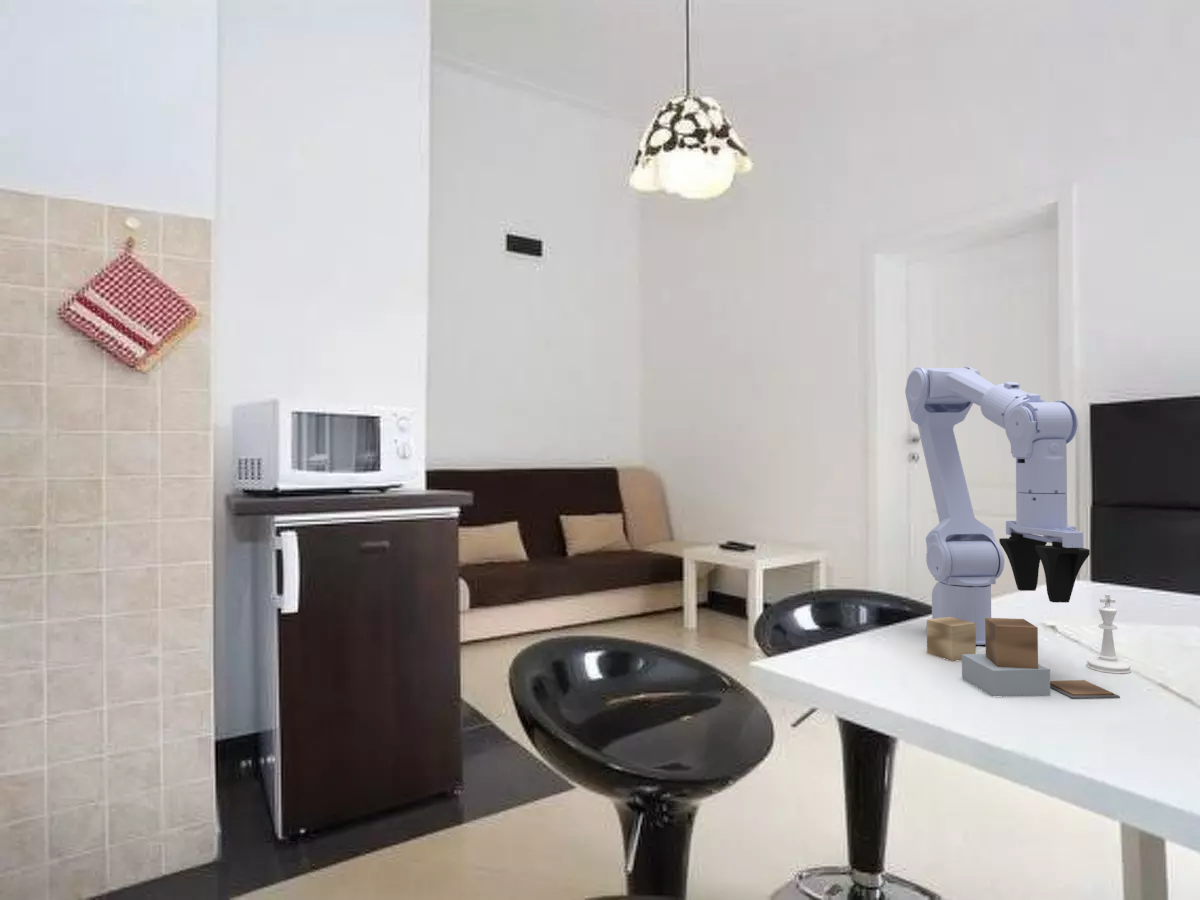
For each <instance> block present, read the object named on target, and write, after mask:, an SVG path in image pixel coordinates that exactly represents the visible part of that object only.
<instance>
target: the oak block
mask: <svg viewBox="0 0 1200 900" xmlns="http://www.w3.org/2000/svg"><path fill="white" fill-rule="evenodd" d="M926 627H927V630H926V654H928V655H931V656H934V655H935V657H937V656H939V657H938V658H940V657H941V658H940V659H943V658H945V659H944V660H946V659H948V660H947V661H949V660H951V661H950V662H957V661H956V660H959V661H962V654H977V648H976V647H977V645H976V623H972V622H968V621H964V620H961V619H957V618H953V617H943V618H935V619H932V618H928V619H926Z"/></svg>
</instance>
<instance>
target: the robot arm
mask: <svg viewBox="0 0 1200 900" xmlns="http://www.w3.org/2000/svg"><path fill="white" fill-rule="evenodd" d="M1020 386H1021V385H1020V383H1018V382H1016V381H1005V382H1004V383H999V384H994V383H992V382H991V381H989V380H988V379H986V378H984V377H983V376H982V375H981V373H980V370H979V369H974V368H973V367H970V366H964V367H922V366H916V367H914V368H913V369H912V370H911V371H910V373H909V375H908V376H907V379H906V386H905V391H904V392H905V393H904V394H905V398H906V403H907V406H908V408H907V409H908V411H909V415H910V419H911V421H912V422H913V423H915V425H917V428H918V434H919V438H920V442H921V446H922V450H923V455H924V458H925V464H926V469H927V473H928V476H929V477H928V478H929V481H930V487H931V490H932V495H933V499H934V500H933V501H934V504H935V508H936V512H937V516H938V517H937V518H938V521H939V522H938V524H937V525H936V526H935V527H934V528H932V529H931V530H930V531H929V532H928V534H927V535H926V537H925V543H926V544H925V545H926V555H925V557H926V559H925V560H926V565H927V569H928V572H929V573H930V574H931V576H932V577H933V578H934V580H935V581H936V582H937V583H936V584H935V585H934V587H933V588H932V591H931V619H935V618H943V617H953V618H957V619H961V620H964V621H968V622H972V623H976V646H978V645H979V646H981V645H982V646H983V645H984V646H986V641H985V618H992V585H996V583H997V582H996V580H997V579H998V578H999V577H1000V576H1001V575H1002V573H1003V571H1004V569H1005V556H1004V555H1005V554H1006V557H1007V559H1008V561H1009V564H1010V567H1011V570H1012V573H1013V578H1014V581H1015V585H1016V588H1017V591H1021V592H1022V591H1023V592H1029V591H1032V592H1033V591H1034V592H1035V591H1036V590H1037V587H1038V584H1039V583H1038V582H1039V581H1038V580H1039V572H1040V568H1039V567H1040V563H1041V565H1042V567H1043V571H1044V577H1045V585H1046V593H1047V596H1048V597H1047V598H1048V601H1049V602H1051V603H1070V600H1071V597H1072V594H1073V589H1074V586H1075V582H1076V580H1077V577H1078V574H1079V572H1080V571H1081V568H1082V566H1083V565H1084V564H1085V561H1086V560H1087V559H1088V557H1089V556H1090V553H1091V551H1090V549H1089V548H1084V532H1083V531H1080V530H1077V526H1075V525H1069V524H1068V472H1067V471H1068V468H1067V467H1068V463H1067V461H1068V460H1067V454H1068V453H1067V448H1068V447H1067V444H1068V443H1071V441H1072V440H1073V439H1074V437H1075V436H1076V434H1077V430H1078V424H1079V423H1078V416H1077V413H1076V410H1075V408H1073V406H1072V405H1070V404H1069V403H1068V402H1067V401H1065V400H1054V401H1050V402H1049V401H1046V400H1044V399H1042V398H1041V395H1040V394H1038V393H1036V392H1032V393H1030V392H1027V391H1025V390H1023V389H1021V388H1020ZM973 404H975V405H976V406H979V407H980V411H981V414H982V415H983V417H984V418H985V419H987V420H989V421H990V422H991V423H993V424H995V425H997V426H999V427H1000V428H1002V429H1004V430H1005V435H1006V437H1007V440H1008V441H1009V444H1010V454H1012V455H1011V456H1012V458H1015V496H1016V497H1015V504H1016V505H1015V507H1016V510H1015V512H1016V517H1015V518H1016V519H1015V520H1006V521H1005V534H1006V535H1007V536H1009V538H1007V537H1006V538H1005V537H1004V538H999V542H997V540H996V536H995V533H994V530H993V529H992V528H991V527H989V526H987V524H985V523H984V522H981V521H980V520H978V519H977V518H976V517H975V514H974V513H975V512H974V509H973V505H972V501H971V498H970V493H969V488H968V485H967V481H966V476H965V473H964V468H963V464H962V460H961V456H960V452H959V449H958V445H957V440H956V437H955V436H956V435H955V432H954V427H955V426H956V425H958V424H960V423H962V422H963V421H964V420H965V419H966V417H967V415H968V414H969V412H970V410H971V408H972V407H973ZM998 543H999V544H998ZM1047 543H1049V544H1051V545H1047ZM1001 547H1002V548H1001ZM1002 549H1003V550H1002ZM1003 551H1004V552H1005V554H1004V552H1003ZM925 629H926V631H927V626H926V628H925Z"/></svg>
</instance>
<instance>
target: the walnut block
mask: <svg viewBox="0 0 1200 900" xmlns="http://www.w3.org/2000/svg"><path fill="white" fill-rule="evenodd" d="M1038 631H1039V630H1038V626H1037V625H1035V624H1032V623H1031V622H1029V621H1027V620H1026V619H1024V618H1008V617H1007V618H1006V617H1005V618H1002V617H1001V618H1000V617H991V618H985V641H986V645H985V654H986V657H987V658H988V659H989V660H990V661H991V662H993V663H994V664H995V665H996V666H997V667H1009V668H1032V669H1038V664H1039V635H1038V634H1039V632H1038Z"/></svg>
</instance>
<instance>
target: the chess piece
mask: <svg viewBox="0 0 1200 900" xmlns="http://www.w3.org/2000/svg"><path fill="white" fill-rule="evenodd" d="M1099 602H1100V603H1101V604H1102V603H1103V604H1104V606H1100V607H1099V608H1098V611H1099V614H1100V617H1101V620H1102V621H1103V622H1102V623H1099V624H1098V628H1100V629H1103V635H1102V642H1101V649H1100V653H1098V654H1097V656H1096V657H1089V658H1088V659H1087V660H1086V665H1085V666H1086V667H1087V668H1089V669H1091V670H1094V671H1098V672H1102V673H1106V674H1107V673H1108V674H1116V675H1117V674H1120V675H1125V674H1130V673H1131V672H1132V670H1131V666H1130V663H1128V662H1125V661H1122V660H1121V659H1119V658H1120V657H1119V656H1118V655H1117V654H1116V649H1115V642H1114V636H1113V635H1114V634H1113V631H1116V630H1118V625H1115V624H1113V622H1114V620H1115V617H1116V615H1117V612H1118V610H1117V609H1116V608H1114V607H1112V606H1111V604H1116V599H1115V598H1111V595H1110V594H1109V593H1105V594H1104V598H1099Z"/></svg>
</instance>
